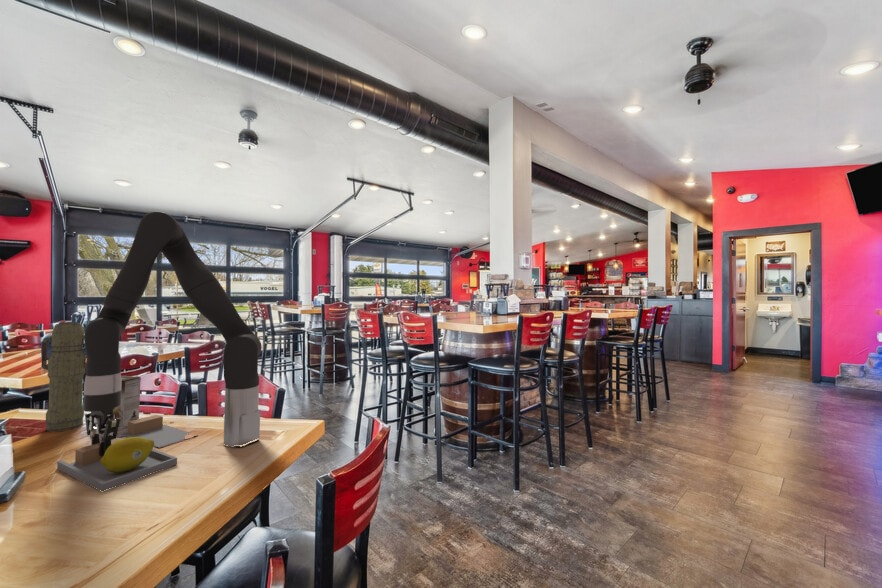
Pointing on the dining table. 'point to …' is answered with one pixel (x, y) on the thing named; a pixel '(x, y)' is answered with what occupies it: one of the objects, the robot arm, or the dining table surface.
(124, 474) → the gray tray
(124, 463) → the lemon
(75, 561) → the dining table surface
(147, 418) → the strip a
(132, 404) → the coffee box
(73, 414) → the thermos
